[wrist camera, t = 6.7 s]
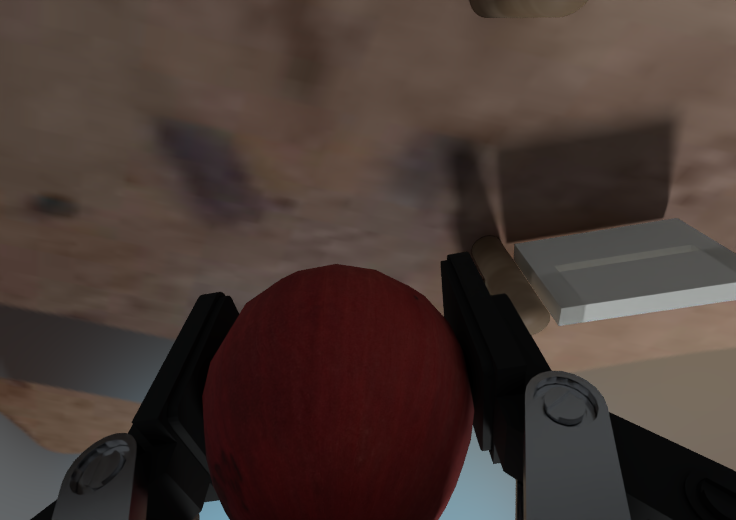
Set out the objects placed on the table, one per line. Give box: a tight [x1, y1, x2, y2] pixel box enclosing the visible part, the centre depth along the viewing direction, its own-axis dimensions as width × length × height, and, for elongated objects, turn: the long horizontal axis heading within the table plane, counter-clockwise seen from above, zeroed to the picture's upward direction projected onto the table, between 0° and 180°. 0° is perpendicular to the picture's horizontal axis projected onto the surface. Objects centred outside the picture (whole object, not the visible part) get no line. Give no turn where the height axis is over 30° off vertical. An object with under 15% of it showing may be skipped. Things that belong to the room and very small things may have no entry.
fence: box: [470, 0, 588, 335], centre depth 17 cm, size 2×24×7 cm, turn 9°
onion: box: [202, 264, 474, 520], centre depth 8 cm, size 6×6×8 cm
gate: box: [513, 218, 736, 326], centre depth 21 cm, size 10×1×6 cm, turn 99°
